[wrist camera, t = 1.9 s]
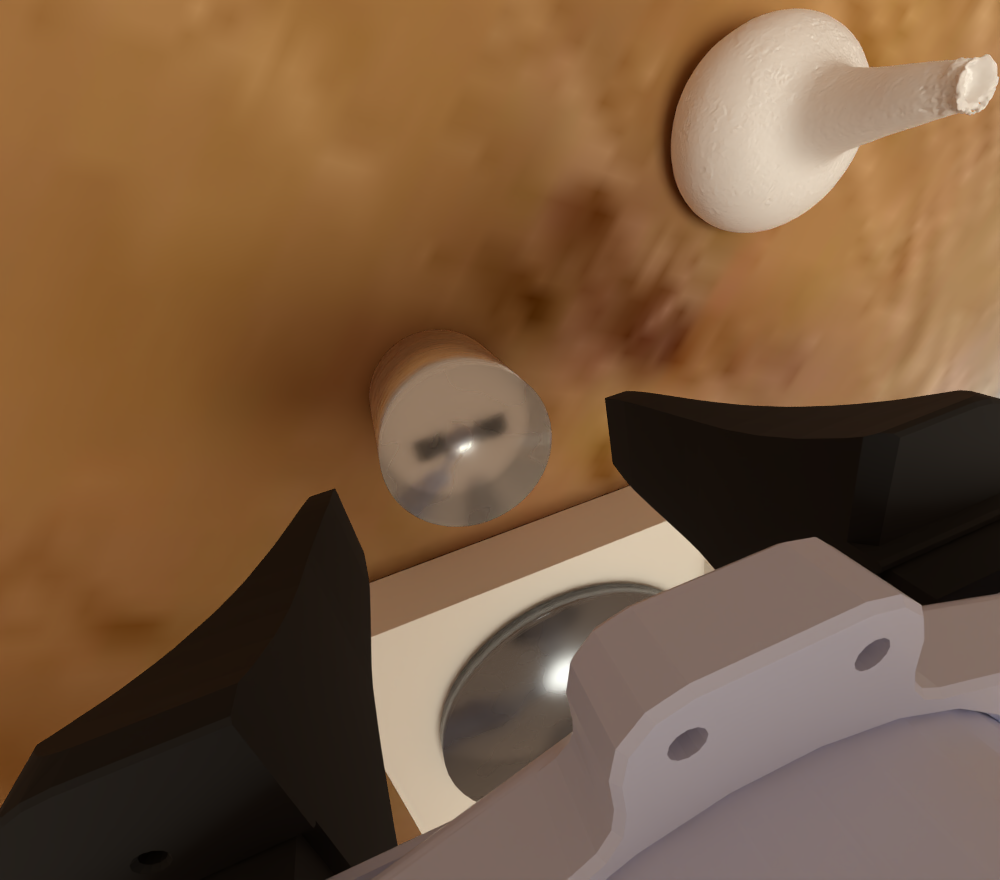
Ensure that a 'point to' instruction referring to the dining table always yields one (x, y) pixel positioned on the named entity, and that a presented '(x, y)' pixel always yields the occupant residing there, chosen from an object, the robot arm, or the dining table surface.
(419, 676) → the base
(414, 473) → the cylinder
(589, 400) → the dining table surface
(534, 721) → the pan
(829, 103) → the garlic bulb
